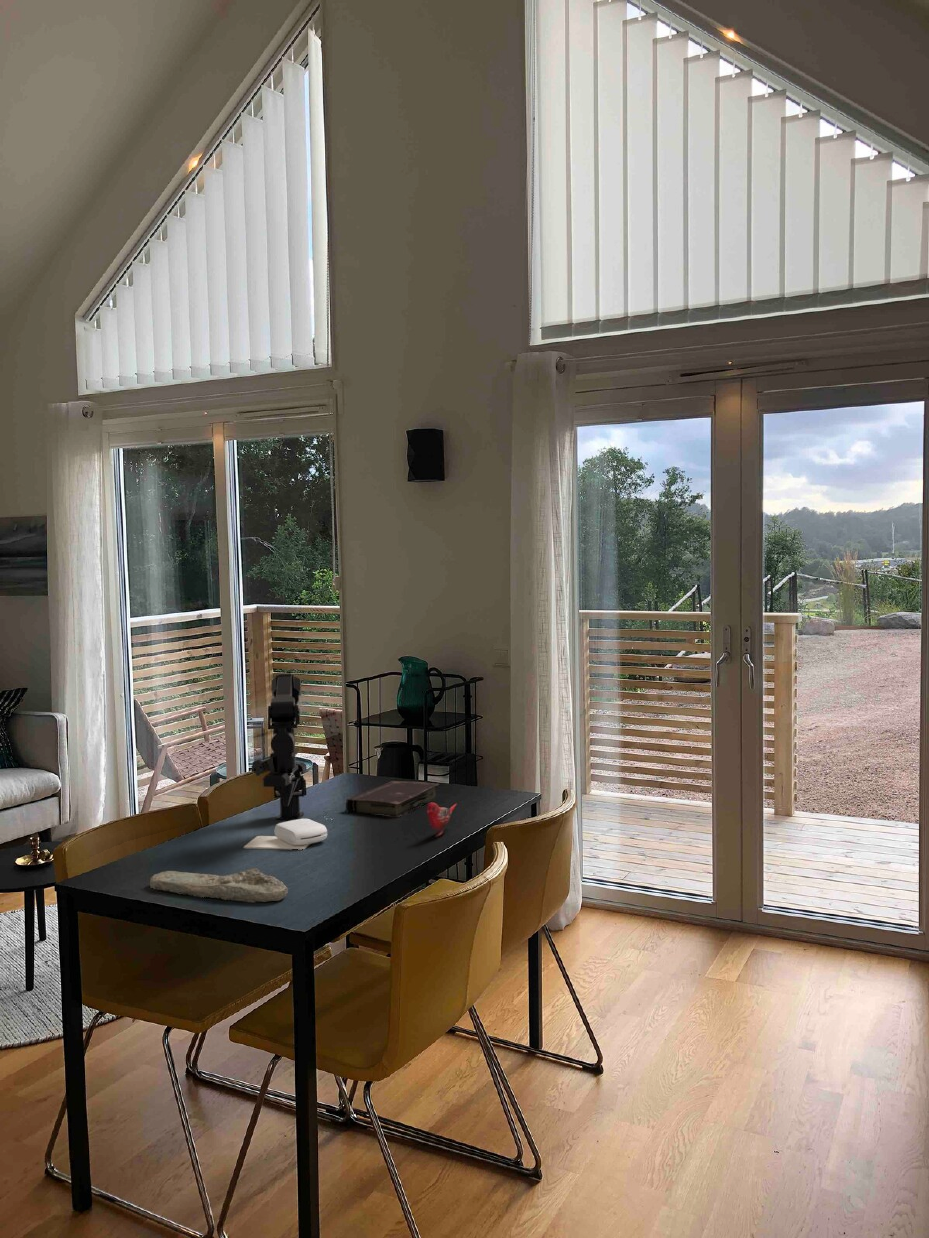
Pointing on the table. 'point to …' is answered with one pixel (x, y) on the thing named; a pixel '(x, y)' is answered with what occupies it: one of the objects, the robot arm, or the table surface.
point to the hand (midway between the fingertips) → (286, 805)
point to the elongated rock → (222, 885)
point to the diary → (392, 798)
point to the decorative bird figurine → (439, 816)
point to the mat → (272, 843)
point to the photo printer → (301, 831)
